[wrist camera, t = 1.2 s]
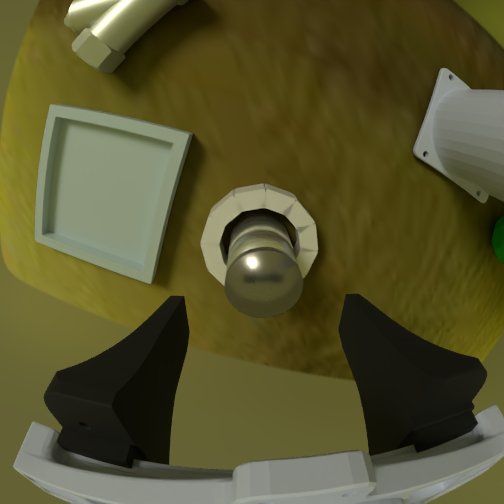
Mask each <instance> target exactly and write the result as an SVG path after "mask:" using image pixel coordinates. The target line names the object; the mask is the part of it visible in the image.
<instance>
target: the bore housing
mask: <svg viewBox="0 0 504 504" xmlns="http://www.w3.org/2000/svg"><path fill="white" fill-rule="evenodd" d="M260 208H266V209H269V210H272V211H275V212H278V213H281V214H284V215H285V216H286V217H287V218H288V219H289V220H290V222H291V223H292V224H293V225H294V226H295V231H296V238H297V241H296V244H295V246H294V248H293V250H294V253H295V256H296V259H297V262H298V265H299V268H300V271H301V274H302V278H304V277H305V275H307V274H308V271H309V269H310V267H311V265H312V263H313V261H314V259H315V257H316V255H317V253H318V242H317V232H316V224H315V222H314V220H313V219H312V217H311V215H310V214H309V213H308V211H307V210H306V209H305V208H304V206H303V205H302V204H301V203H300V201H299V200H298V199H297V198H296V197H295V195H294V194H292V193H291V192H288V191H285V190H282V189H280V188H277V187H274V186H271V185H268V184H265V186H264V183H262V184H257V185H251V186H246V187H240V188H235V190H234V189H233V190H232V191H231V192H230V193H229V194H227V195H226V196H225V197H224V198H223V199H222V200H220V201H219V202H218V203H217V204H216V205H215V206H213V207H212V209H211V211H210V214H209V217H208V220H207V223H206V226H205V229H204V233H203V236H202V239H201V248H202V251H203V255H204V259H205V262H206V266H207V269H209V272H210V273H211V274H212V275H213V276H214V277H215V278H216V279H217V280H219V281H220V282H221V283H222V284H223V285H224V286H225V276H226V269H227V261H228V255H227V254H226V253H225V250H224V245H223V241H222V234H223V231H224V228H225V225H227V224H228V223H229V222H230V221H231V220H233V219H234V218H235V217H236V216H237V215H239V214H240V213H241V212H243V211H249V210H254V209H260Z"/></svg>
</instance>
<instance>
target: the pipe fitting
mask: <svg viewBox="0 0 504 504" xmlns="http://www.w3.org/2000/svg"><path fill="white" fill-rule="evenodd" d="M188 1H189V0H74V1H73V2H72V4H71V6H70V8H69V11H68V14H67V15H66V18H65V19H64V23H65V25H66V26H68V28H70V29H71V30H72V32H73V33H74V34H76V35H78V37H77V38H76V39H75V41H74V42H73V43H72V50H73V51H74V52H75V54H76V55H77V56H78V57H80V58H81V59H82V60H83V61H85V62H86V63H87V64H89V65H90V66H92V67H94V68H95V69H97V70H99V71H101V72H104V73H112V72H113V71H114V70H115V69H116V68H117V67H118V66H119V64H120V63H121V62H122V61H123V60H124V59H125V55H124V53H125V52H126V51H127V50H128V49H129V48H130V47H131V46H132V45H133V44H134V43H135V42H136V41H137V40H138V39H139V38H140V37H141V36H142V35H143V34H144V33H145V32H146V31H147V30H148V29H149V28H151V27H152V26H153V25H154V24H155V23H156V22H157V21H158V20H159V19H161V18H162V17H163V16H164V15H165V14H166V13H168V12H169V11H170V10H171V9H172V8H174V7H175V6H176V5H184V4H185V3H186V2H188Z"/></svg>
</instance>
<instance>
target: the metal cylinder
mask: <svg viewBox="0 0 504 504" xmlns="http://www.w3.org/2000/svg"><path fill="white" fill-rule="evenodd" d="M302 289H303V278H302V274H301V271H300V268H299V265H298V262H297V259H296V256H295V253H294V250H293V247H292V244H291V241H290V238H289V235H288V232H287V230H286V227H285V225H284V223H283V222H282V220H281V219H280V218H279V217H277V216H276V215H274V214H272V213H270V212H267V211H252V212H249V213H247V214H245V215H243V216H242V217H240V218H239V219H238V220H237V221H236V223H235V224H234V226H233V228H232V232H231V238H230V246H229V253H228V261H227V269H226V276H225V293H226V296H227V298H228V300H229V302H230V303H231V304H232V305H233V307H234V308H236V309H237V310H238V311H240V312H241V313H243V314H245V315H248V316H251V317H256V318H269V317H274V316H277V315H280V314H282V313H284V312H286V311H288V310H289V309H290V308H291V307H292V306H294V305H295V303H296V302H297V301H298V299H299V298H300V295H301V293H302Z"/></svg>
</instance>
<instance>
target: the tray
mask: <svg viewBox="0 0 504 504" xmlns="http://www.w3.org/2000/svg"><path fill="white" fill-rule="evenodd" d="M192 137H193V133H190V132H187V131H183V130H180V129H176V128H172V127H168V126H164V125H161V124H157V123H153V122H149V121H144V120H140V119H136V118H131V117H127V116H122V115H118V114H113V113H108V112H103V111H98V110H92V109H87V108H81V107H75V106H69V105H62V104H50V108H49V112H48V117H47V122H46V126H45V132H44V137H43V143H42V149H41V156H40V164H39V172H38V182H37V194H36V212H35V241H37V242H39V243H41V244H44V245H46V246H49V247H51V248H54V249H56V250H58V251H61V252H64V253H66V254H69V255H71V256H74V257H76V258H79V259H82V260H84V261H87V262H89V263H92V264H95V265H98V266H100V267H103V268H106V269H108V270H111V271H114V272H117V273H120V274H122V275H125V276H128V277H131V278H134V279H137V280H140V281H143V282H146V283H149V284H151V283H152V281H153V279H154V277H155V275H156V272H157V267H158V262H159V258H160V253H161V249H162V244H163V240H164V236H165V232H166V228H167V224H168V220H169V216H170V212H171V208H172V204H173V201H174V197H175V193H176V190H177V186H178V182H179V179H180V175H181V172H182V169H183V165H184V162H185V159H186V155H187V152H188V149H189V146H190V143H191V140H192Z"/></svg>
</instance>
